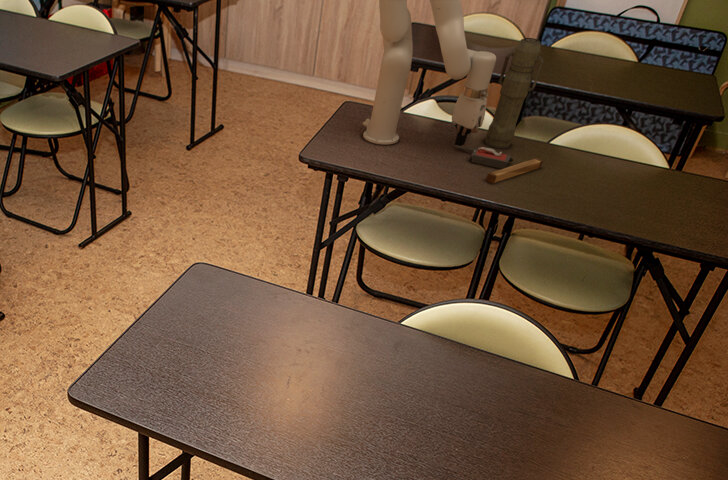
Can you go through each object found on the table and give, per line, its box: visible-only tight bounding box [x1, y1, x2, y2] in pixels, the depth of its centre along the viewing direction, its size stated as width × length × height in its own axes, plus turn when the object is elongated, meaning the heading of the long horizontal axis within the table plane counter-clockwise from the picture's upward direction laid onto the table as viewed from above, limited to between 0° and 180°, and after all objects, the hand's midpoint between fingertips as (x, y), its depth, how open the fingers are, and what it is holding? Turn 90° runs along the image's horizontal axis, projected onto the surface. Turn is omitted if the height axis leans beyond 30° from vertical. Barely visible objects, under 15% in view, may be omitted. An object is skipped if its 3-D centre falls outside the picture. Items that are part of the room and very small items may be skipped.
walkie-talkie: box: [453, 144, 514, 170], centre depth 233 cm, size 9×4×20 cm
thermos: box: [484, 37, 544, 149], centre depth 234 cm, size 9×12×35 cm
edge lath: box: [485, 157, 544, 184], centre depth 226 cm, size 3×24×3 cm, turn 122°
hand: (459, 144), depth 241 cm, fingers closed
